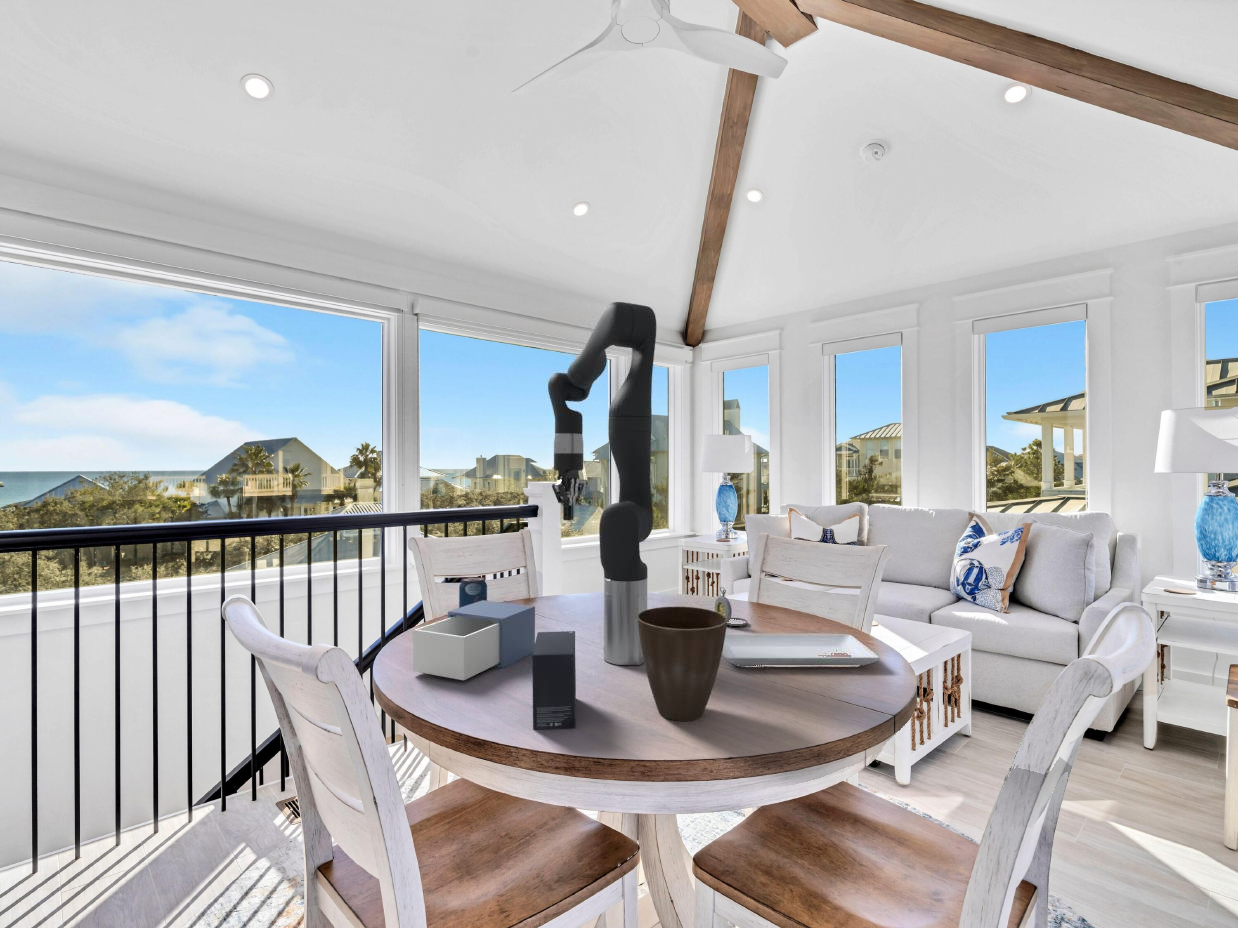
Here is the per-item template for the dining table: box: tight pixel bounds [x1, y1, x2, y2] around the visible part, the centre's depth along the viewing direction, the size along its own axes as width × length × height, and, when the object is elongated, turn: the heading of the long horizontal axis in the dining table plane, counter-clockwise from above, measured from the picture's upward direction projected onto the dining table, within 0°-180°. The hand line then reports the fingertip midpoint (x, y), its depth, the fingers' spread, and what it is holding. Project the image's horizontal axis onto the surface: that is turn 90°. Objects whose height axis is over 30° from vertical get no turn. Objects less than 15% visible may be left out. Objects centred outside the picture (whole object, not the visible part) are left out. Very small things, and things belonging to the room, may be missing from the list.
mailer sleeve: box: [447, 600, 536, 669], centre depth 134 cm, size 14×12×10 cm
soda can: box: [458, 576, 488, 608], centre depth 158 cm, size 7×7×12 cm
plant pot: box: [637, 606, 728, 722], centre depth 103 cm, size 15×15×16 cm
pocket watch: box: [714, 586, 749, 627], centre depth 160 cm, size 8×8×10 cm
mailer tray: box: [412, 616, 501, 681], centre depth 129 cm, size 12×24×8 cm, turn 155°
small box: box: [531, 630, 577, 731], centre depth 103 cm, size 13×7×12 cm, turn 4°
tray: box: [722, 633, 881, 666], centre depth 132 cm, size 17×32×4 cm, turn 90°
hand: (568, 520), depth 158 cm, fingers closed
